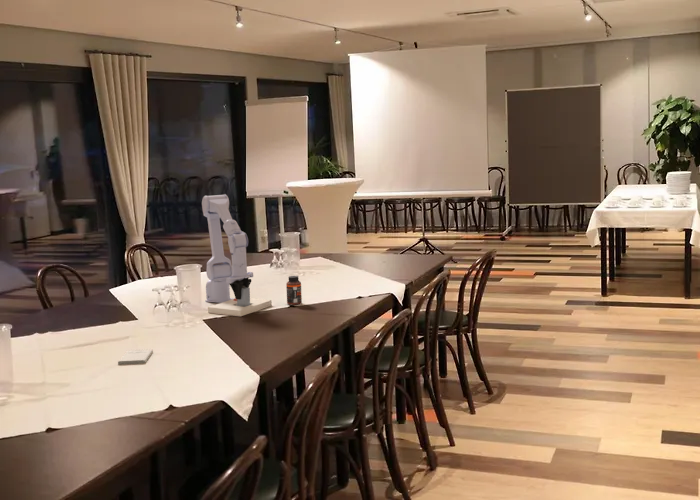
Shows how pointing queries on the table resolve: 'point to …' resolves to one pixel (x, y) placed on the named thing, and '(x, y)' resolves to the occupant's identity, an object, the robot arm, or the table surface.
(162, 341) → the table surface
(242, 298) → the plug
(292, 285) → the supplement bottle
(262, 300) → the socket plate
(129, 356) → the external hard drive
